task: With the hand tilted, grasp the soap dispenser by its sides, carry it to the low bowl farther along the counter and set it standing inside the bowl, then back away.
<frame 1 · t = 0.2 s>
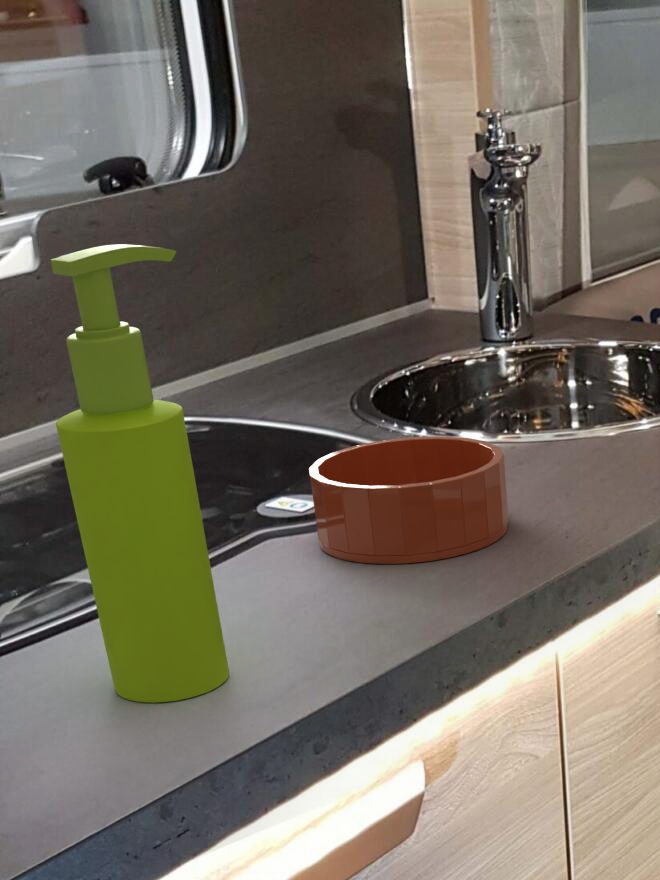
soap dispenser: (181, 681, 80), on the worktop
bowl: (413, 533, 98), on the worktop
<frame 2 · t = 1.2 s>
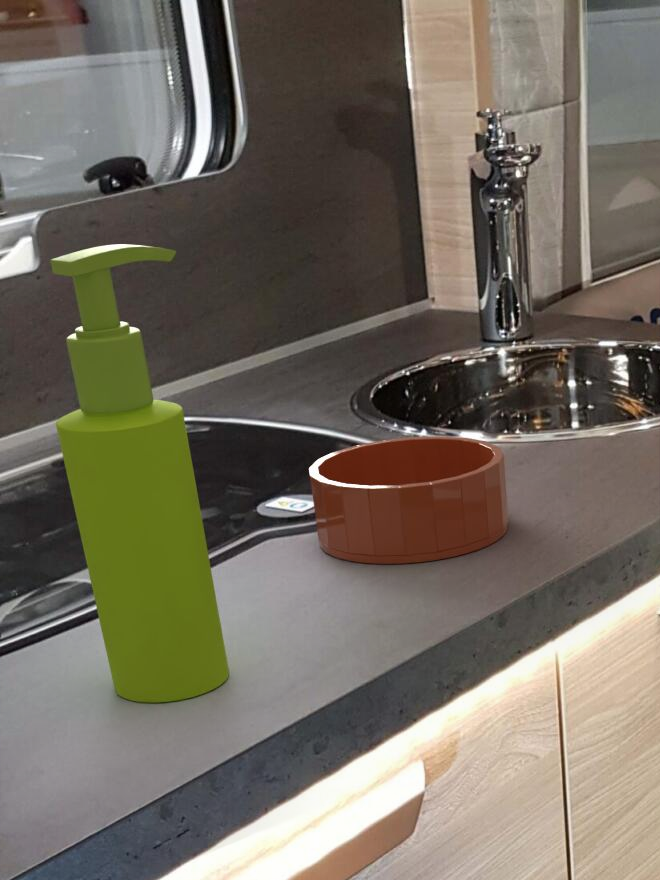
nothing on the worktop moved.
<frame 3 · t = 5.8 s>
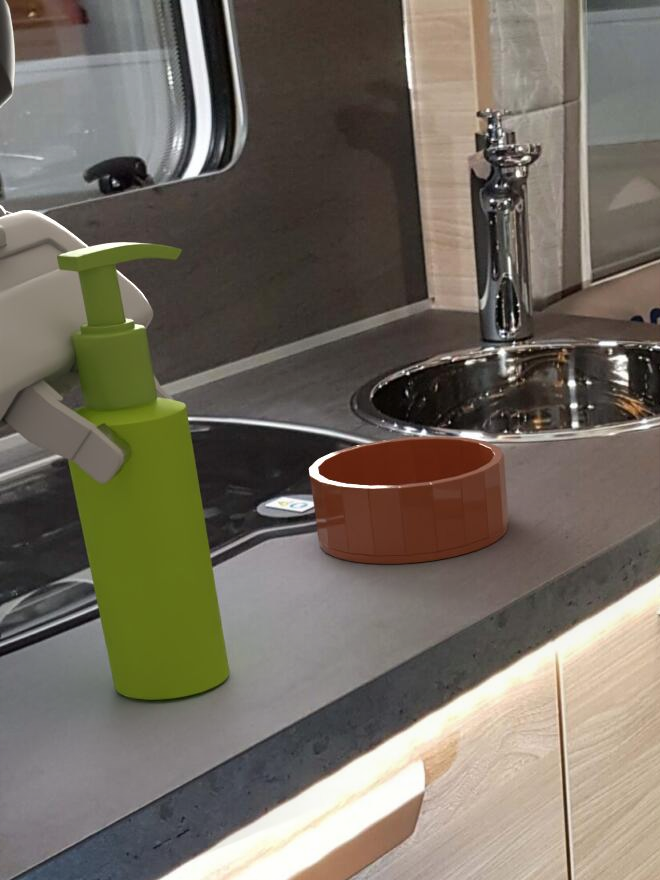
hand: (147, 449, 73), 11 cm above the worktop, tool tilted 45°, fingers closed on soap dispenser, 6 cm apart
soap dispenser: (181, 680, 80), on the worktop, touching gripper
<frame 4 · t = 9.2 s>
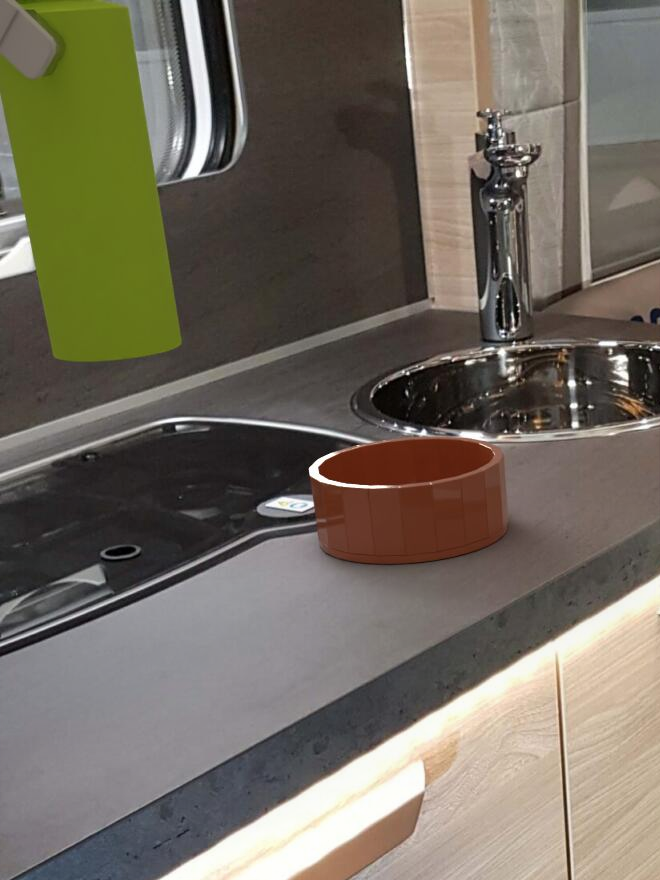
hand: (85, 59, 65), 27 cm above the worktop, tool tilted 45°, fingers closed on soap dispenser, 6 cm apart
soap dispenser: (128, 352, 72), point 16 cm above the worktop, touching gripper
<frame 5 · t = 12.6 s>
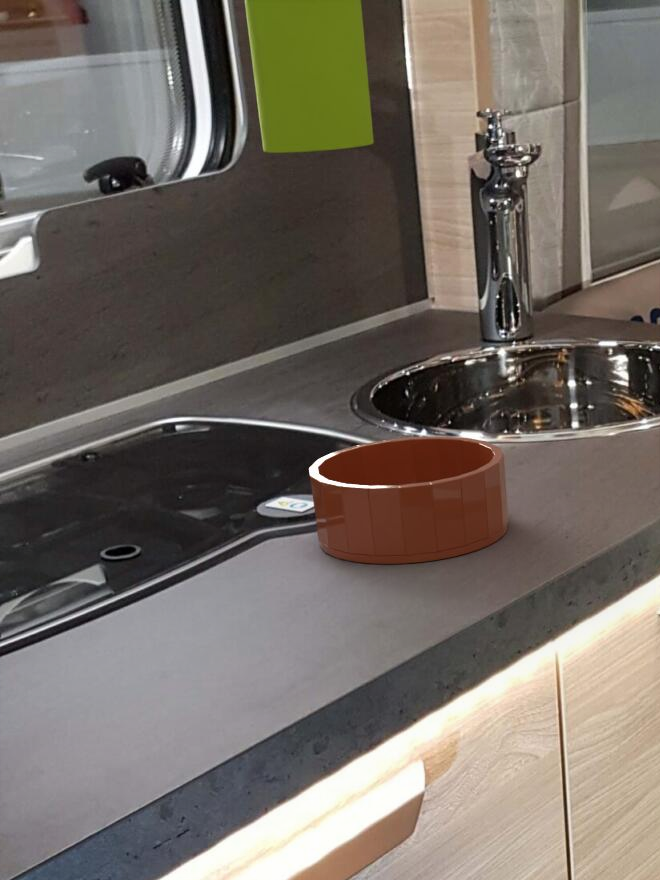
soap dispenser: (327, 150, 82), point 22 cm above the worktop, touching gripper
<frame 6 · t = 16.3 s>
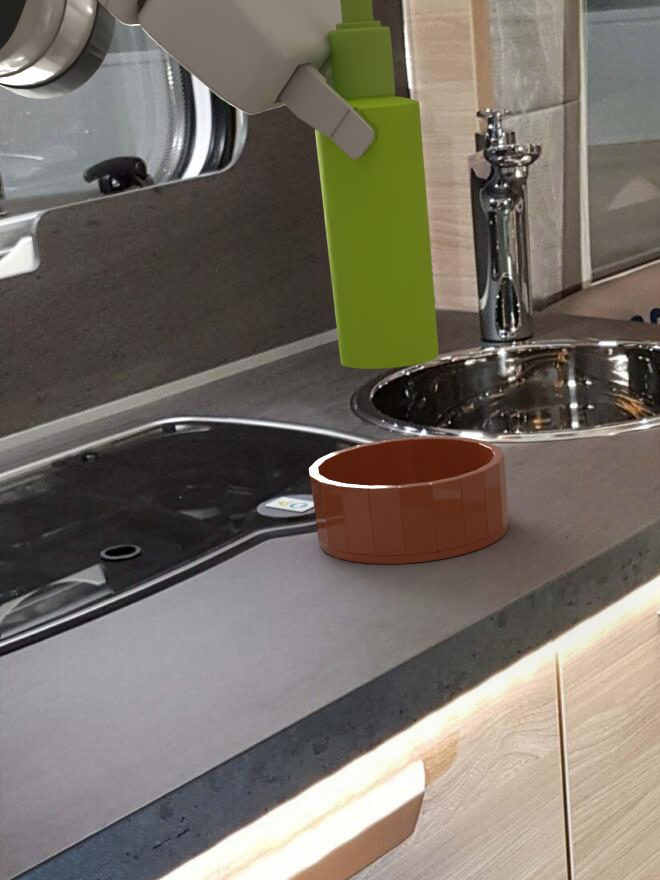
hand: (384, 141, 86), 22 cm above the worktop, tool tilted 45°, fingers closed on soap dispenser, 6 cm apart
soap dispenser: (397, 361, 92), point 10 cm above the worktop, touching gripper
when the fingers open (12 cm above the worktop, at t = 19.5 s): soap dispenser stays where it is, resting on bowl.
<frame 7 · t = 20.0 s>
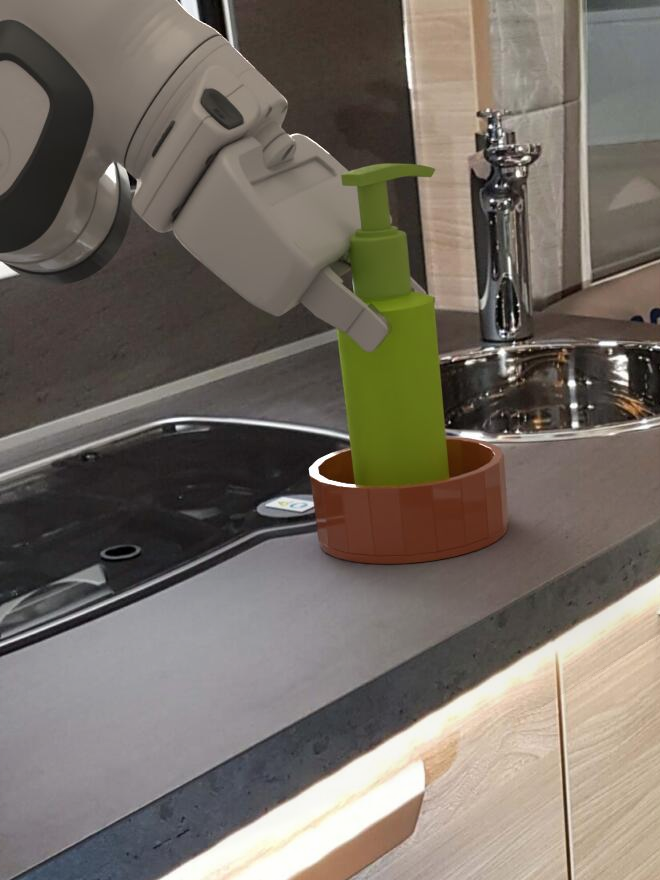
hand: (401, 324, 91), 12 cm above the worktop, tool tilted 45°, fingers open, 8 cm apart
soap dispenser: (413, 528, 98), resting on bowl
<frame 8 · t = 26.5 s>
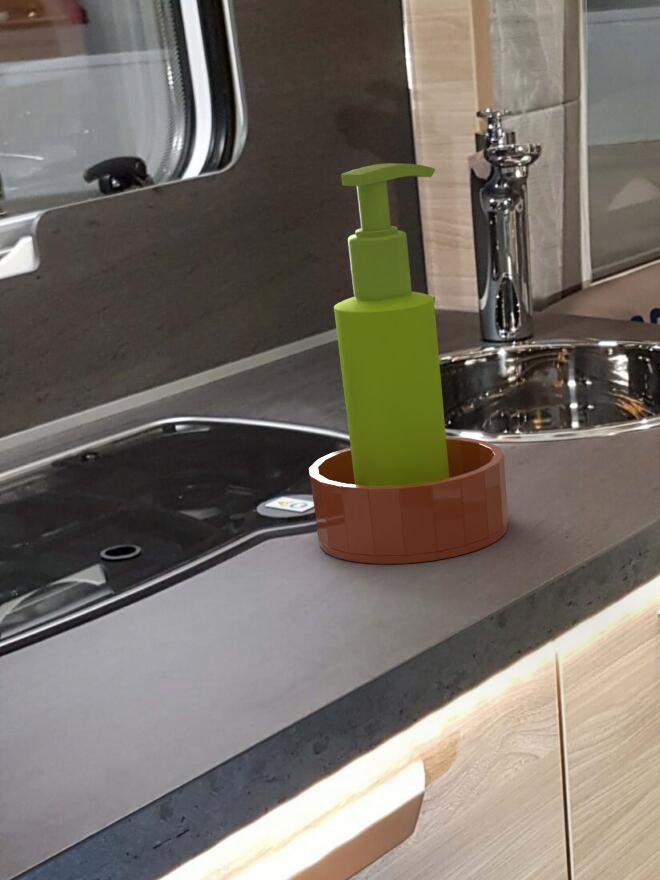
nothing on the worktop moved.
at the end: soap dispenser 0.2 cm off-centre in the bowl, point 0.3 cm above the bowl's base; soap dispenser tilted 0°; the gripper is holding nothing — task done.
